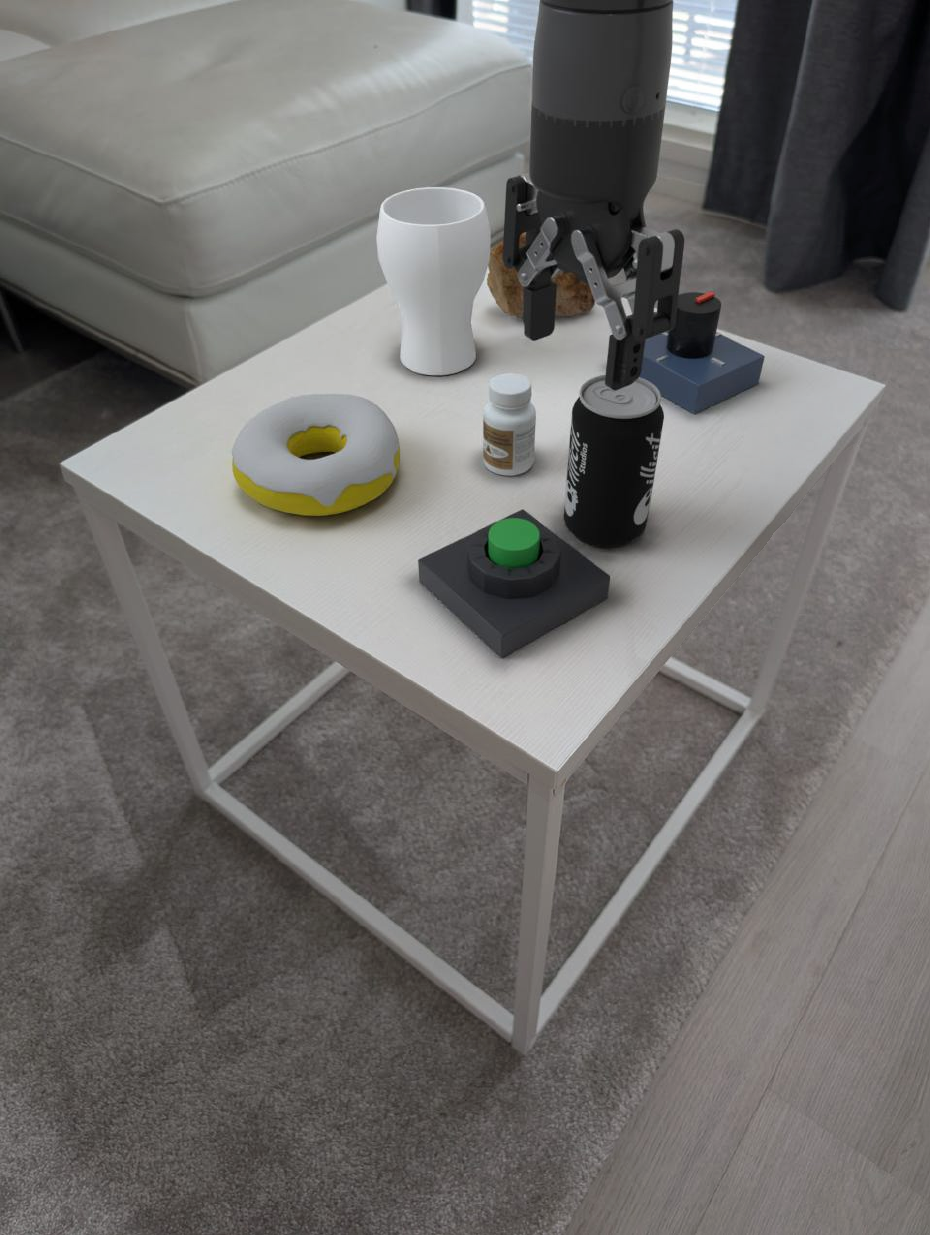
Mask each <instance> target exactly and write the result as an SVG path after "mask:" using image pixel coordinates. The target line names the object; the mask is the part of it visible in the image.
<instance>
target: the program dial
mask: <svg viewBox="0 0 930 1235" xmlns="http://www.w3.org/2000/svg"><path fill="white" fill-rule="evenodd" d="M721 309H722V301H721V300H720V299H719V298H718V297H716V293H714V292H712V291H708V292H707V293H704V292H698V291H692V292H691V291H689V292H683V293H679V297H678V306H677V315H676V324H675V327H674V328H673V329H672V330H670V331H668V338H667V344H666V346H667V349H668V350H669V351H670V352H671V353H673V354H675V355H677V356H680V357H685V358H701V357H705V356H707V355H709V354H710V353H711V352H712V351H713V346H714V341H715V336H716V332H718V331H717V330H718V325H719V319H720V315H721Z"/></svg>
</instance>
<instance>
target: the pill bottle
mask: <svg viewBox="0 0 930 1235" xmlns="http://www.w3.org/2000/svg"><path fill="white" fill-rule="evenodd" d="M488 384H489V385H488V397H489V398H488V399H489V401H487V403H486V405H485V406H484V408H483V414H482V418H483V419H482V420H483V421H482V424H483V425H482V427H483V428H482V429H483V430H482V442H483V444H482V446H483V449H482V450H483V451H482V453H483V454H482V455H483V458H482V459H483V464H484V466H485V468H487V469H488V470H489V471H490V472H493V473H495V474H497V475H501V476H509V477H510V476H511V477H512V476H517V475H521V474H523V473H526V472H527V471H528V470H530V469H531V468H532V467H533V464H534V462H535V461H534V460H535V445H536V444H535V443H536V423H537V422H536V421H537V410H536V407H535V405H534V404H533V403H532V402H531V401H532V400H531V399H532V394H533V393H532V382H531V379H529V378H528V377H527V376H525V375H523V374H519V373H513V372H506V373H501V374H498V375H495V376H493V377H492V378H491V379H490V380H489V383H488Z"/></svg>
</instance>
